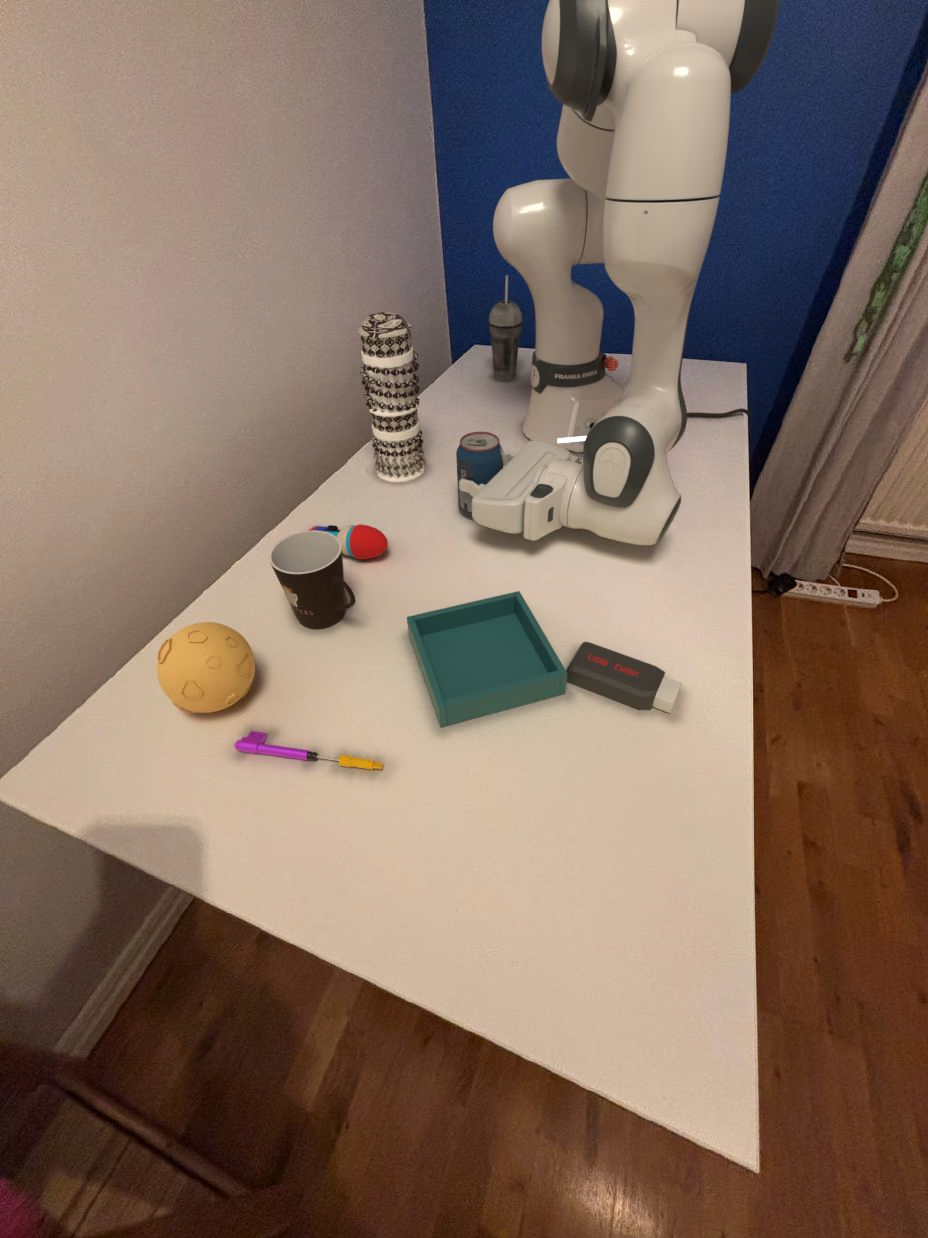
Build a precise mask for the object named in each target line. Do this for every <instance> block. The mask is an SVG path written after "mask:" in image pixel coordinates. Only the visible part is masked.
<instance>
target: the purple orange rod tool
mask: <svg viewBox="0 0 928 1238" xmlns="http://www.w3.org/2000/svg"><path fill="white" fill-rule="evenodd" d="M267 738H268V734H267V732H262V731H255V730H250V731H249V733H248V734H247V735H246V736H242V737H241V739H238V740H236V741H235V742H234V749H235V750H236V751H237V750H238V752H245V753H250V754H257V755H259V754H263V755H269V756H276V757H284V758H291V759H297V760H304V761H310V760H311V761H317V760H318V759H324V760H329V761H330V760H331V761H337V762H338V766H339V767H344V768H359V769H365V770H374V769H377V770H382V769H383V767H384V762H378V761H375V760H374V759H369V758H362V757H355V756H353V755H350V754H340V755H339V758H337V757H330V756H323V755H319V753H318V752H316V751H311V750H309V749H303V748H296V747H289V746H282V745H276V744H268V743H264V742H265V740H266V739H267Z"/></svg>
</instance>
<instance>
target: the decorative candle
mask: <svg viewBox="0 0 928 1238" xmlns="http://www.w3.org/2000/svg"><path fill="white" fill-rule="evenodd" d="M412 328H413V327H412V325H411V324H410V323H409V322H407V321H406V320H405V318H404V317H403V316H402V315H401V314H400V313H396V312H390V311H384V312H383V311H382V312H375V313H371V314H369V315H367V316H366V317H365V318H364V319H363V321H362V323H361V325H360V326H358V327H357V329H356V332H357V333H358V335H360V344H361V346H362V347H361V350H360V354H361V361H362V364H361V366H360V371H359V375H361V376H362V378H361V384H362V386H363V389H364V393H363V396H364V398H366V402H365V406H366V408H367V410H368V411H369V413H371V414H370V416H371V420H372V421H371V422H372V423H371V432H372V434H371V436H370V438H371V439H372V448H373V450H374V452H373V458H374V461H375V462H374V466H375V467H376V474H377V476H378V477H379V479H381V480H383V481H385V482H390V483H407V482H411V481H414V480H416V479H418V478H420V477H421V476H422V475H423V474H424V473H425V469H426V466H425V462H424V461H425V457H424V453H425V450H424V449H423V443H424V440H423V439H422V438H423V430H422V429H421V426H420V419H419V415H418V414H419V413H418V408H419V407H420V401H421V400H420V398H419V397H417V396H416V395H418V394H419V393H420V390H421V387H420V386H419V385H418V383H419V380H420V377H419V376H418V375H417V374H416V373H415V372H417V371H418V370H419V367H420V364H419V363H418V362H416V361H417V360H418V357H419V354H418V353H417V352H416V351H414V347H413V345H412V334H411V333H412V332H411V330H412Z"/></svg>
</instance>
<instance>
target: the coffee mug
mask: <svg viewBox="0 0 928 1238" xmlns="http://www.w3.org/2000/svg"><path fill="white" fill-rule="evenodd" d="M343 559H344V558H343V553H342V545H341V542H340V540H339V539H338V538H337V537H336V536H334V535H333V534H330V533H328V532H324V531H317V530H310V529H308V530H302V531H298V532H295V533H292V534H288V535H286V536H285V537H283V538H281V539H280V540H279V541H277V542H276V543H274V545H273V546H272V547H271V549H270V551H269V554H268V560H269V563H270V566H271V568H272V569H273V572H274V574H275V576H276V578H277V580H278V582H279V584H280V586H281V588H282V590H283V592H284V595H285V597H286V599H287V601H288V603H289V605H290V607H291V609H292V611H293V614H294V615H295V617H296V619H297V621H298V623H299V624H300V625H301V626H302V627H304V628H306V629H310V630H324V629H328V628H330V627H333V626H335V625H336V624H338V623H339V622H340V621H342V620H343V619H344V617H345V615H346V613H347V610H349V609H350V608H352V607H353V606H355V604H356V597H355V596H356V595H355V594H354V591H353V589H352V588H351V587H350V585H349V584H348V582H346V581H345V574H344V562H343V561H344V560H343ZM346 592H347V594H348V597H349V603H348V604H347V603H346Z"/></svg>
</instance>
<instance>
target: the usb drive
mask: <svg viewBox="0 0 928 1238" xmlns="http://www.w3.org/2000/svg"><path fill="white" fill-rule="evenodd" d="M565 670H566V672H567V673H568V675H567V682H566V683H569V684H572V685H574V686H576V687H579V688H581V689H584V690H587V691H588V692H592V693H593V694H597V695H598V696H602V697H605V698H606V699H610V700H612V701H615V702H617V703H620V704H622V705H625V706H627V707H630V708H633V709H635V710H637V711H638V710H639V711H640V710H641V711H650V710H652V709H653V708H655V709H658V710H660V711H662V712H666V713H668V714H671V712H672V711H673V708H674V707H675V703H676V700H677V698H678V696H679V693H680V690H681V686H682V685H683V684H682V683H683V682H681V681H679V680H676V679H672V678H670V677H666V676H665V675H666V671H665V670H663V669H662V668H660V667H658V666H657V665H654V664H651V663H649V662H646V661H643V660H641V659H637V658H635V657H631V656H629V655H626V654H623V653H621V652H618V651H615V650H612V649H609V648H606V647H604V646H601V645H598V644H595V643H592V642H590V641H583V642H582V643H581V644H580V645H579V647H578V649H577V651H576V652H575V654H574V656H573V657H572V659H571V660H570V662H569V664H568V665H567V668H566V669H565Z"/></svg>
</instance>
